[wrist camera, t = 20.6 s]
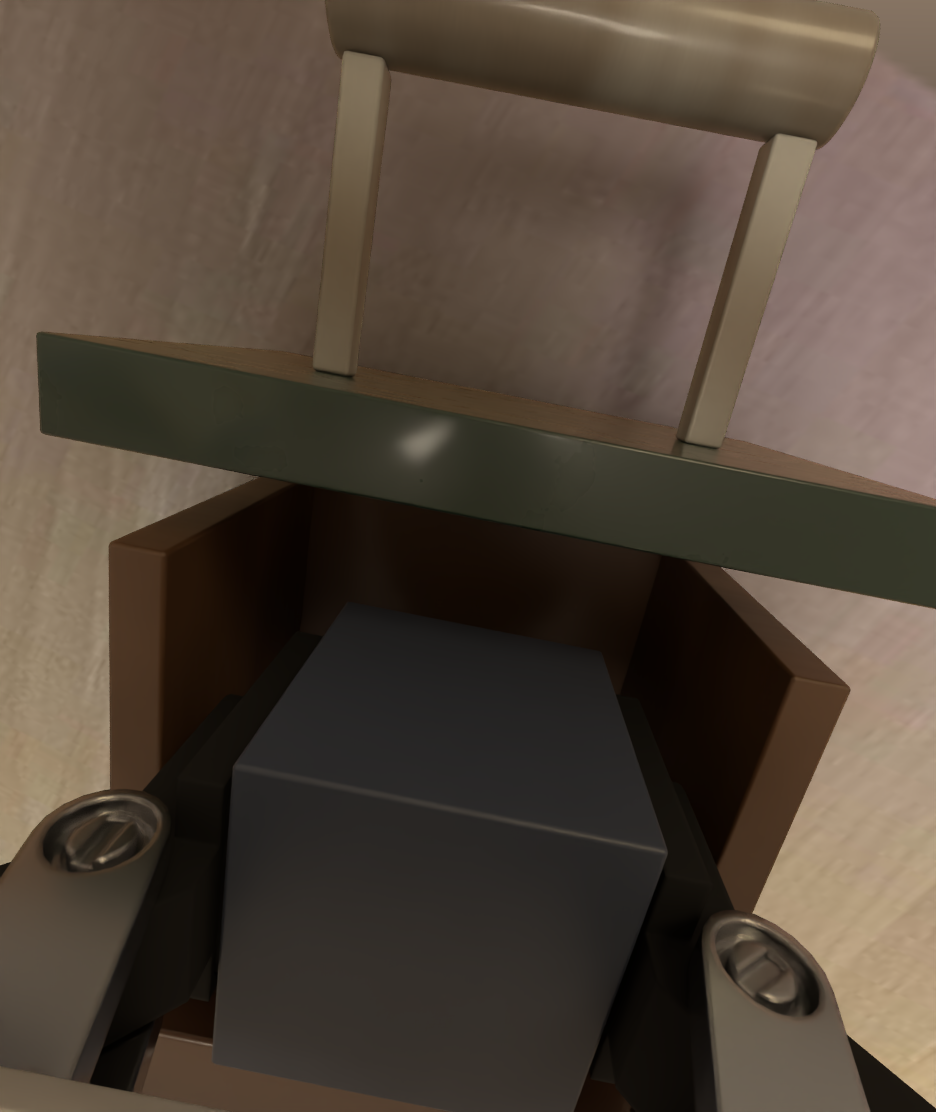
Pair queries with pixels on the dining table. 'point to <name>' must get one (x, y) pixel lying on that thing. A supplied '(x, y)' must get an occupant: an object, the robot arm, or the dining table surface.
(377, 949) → the block
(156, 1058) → the cabinet
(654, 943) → the robot arm
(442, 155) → the dining table surface
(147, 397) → the drawer
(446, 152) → the dining table surface
